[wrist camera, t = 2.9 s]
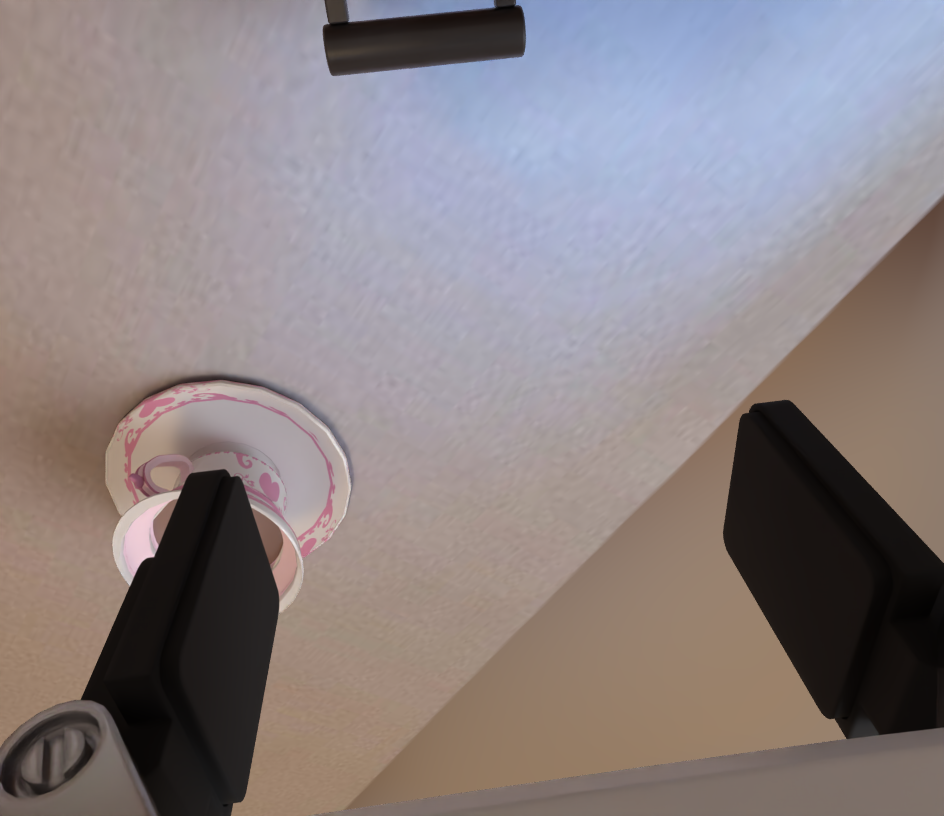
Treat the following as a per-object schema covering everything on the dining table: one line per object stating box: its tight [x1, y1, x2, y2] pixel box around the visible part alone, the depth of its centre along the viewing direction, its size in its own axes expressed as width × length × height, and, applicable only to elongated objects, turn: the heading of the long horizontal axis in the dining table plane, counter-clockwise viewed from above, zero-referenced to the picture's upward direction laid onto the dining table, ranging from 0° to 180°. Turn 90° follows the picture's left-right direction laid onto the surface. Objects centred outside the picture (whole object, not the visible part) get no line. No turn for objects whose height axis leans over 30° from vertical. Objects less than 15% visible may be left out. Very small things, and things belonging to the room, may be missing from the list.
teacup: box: [105, 380, 352, 615], centre depth 33 cm, size 12×12×6 cm
